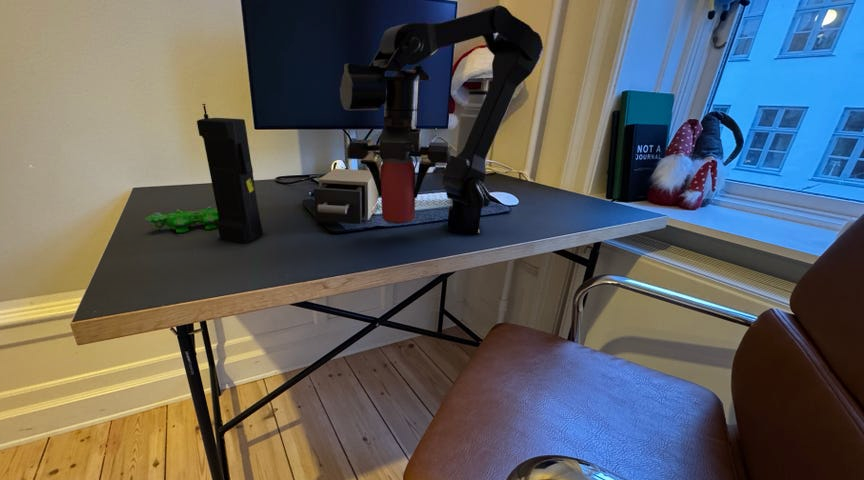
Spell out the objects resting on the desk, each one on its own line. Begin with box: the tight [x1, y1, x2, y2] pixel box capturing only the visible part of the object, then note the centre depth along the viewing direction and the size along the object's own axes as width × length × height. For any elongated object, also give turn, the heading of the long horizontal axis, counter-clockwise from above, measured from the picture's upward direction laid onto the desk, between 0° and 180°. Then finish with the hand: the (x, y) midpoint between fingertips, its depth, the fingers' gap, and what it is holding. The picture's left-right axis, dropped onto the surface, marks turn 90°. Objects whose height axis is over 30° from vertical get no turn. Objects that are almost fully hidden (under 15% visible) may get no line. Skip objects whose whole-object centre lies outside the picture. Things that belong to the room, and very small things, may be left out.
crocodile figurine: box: [144, 205, 219, 234], centre depth 79 cm, size 7×18×4 cm, turn 115°
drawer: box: [313, 183, 365, 225], centre depth 84 cm, size 16×10×7 cm, turn 170°
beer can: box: [380, 156, 416, 225], centre depth 71 cm, size 7×7×12 cm
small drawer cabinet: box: [318, 168, 379, 222], centre depth 91 cm, size 13×12×9 cm
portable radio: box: [196, 103, 264, 244], centre depth 70 cm, size 8×6×25 cm
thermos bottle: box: [455, 89, 488, 164], centre depth 95 cm, size 8×8×28 cm
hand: (397, 196), depth 72 cm, fingers closed on beer can, 6 cm apart
